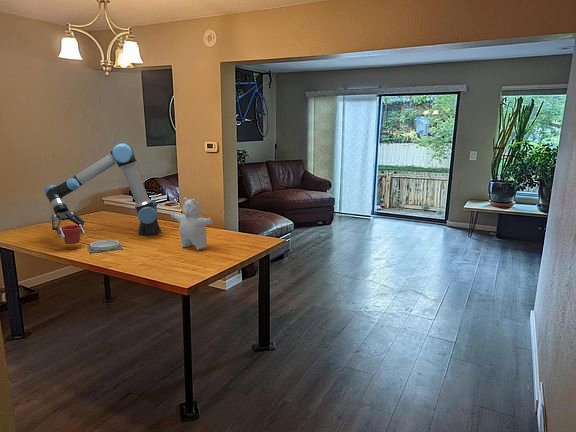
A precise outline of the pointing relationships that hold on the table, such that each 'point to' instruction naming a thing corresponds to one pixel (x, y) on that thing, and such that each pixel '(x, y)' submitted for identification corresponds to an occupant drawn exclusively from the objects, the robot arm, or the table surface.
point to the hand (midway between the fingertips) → (73, 235)
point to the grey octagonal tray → (104, 246)
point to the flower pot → (71, 234)
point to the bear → (192, 225)
